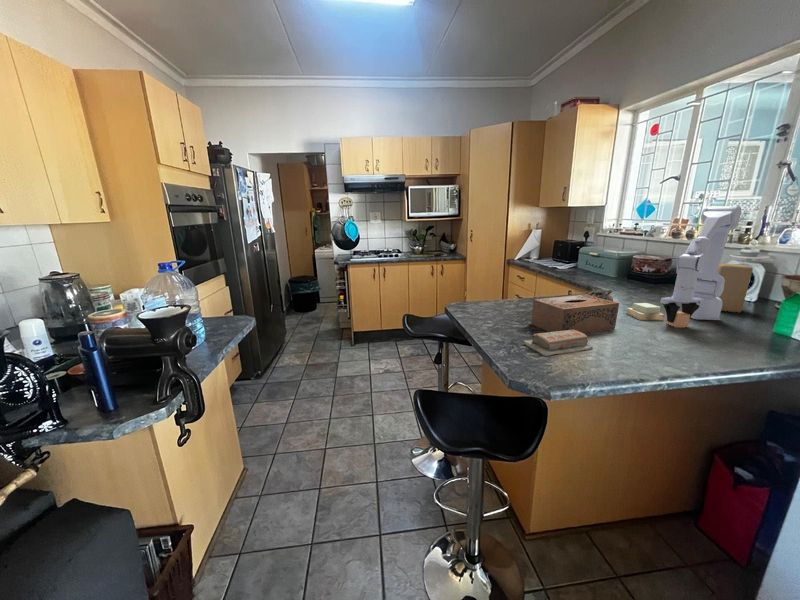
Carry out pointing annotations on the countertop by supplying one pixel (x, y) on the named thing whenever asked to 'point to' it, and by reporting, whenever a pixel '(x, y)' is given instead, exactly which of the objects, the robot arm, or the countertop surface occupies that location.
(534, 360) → the countertop surface
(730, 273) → the wooden block
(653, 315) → the maple slab
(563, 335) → the packaged product
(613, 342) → the countertop surface
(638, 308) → the sage block
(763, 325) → the countertop surface
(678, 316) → the terracotta cube
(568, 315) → the tissue box cover
